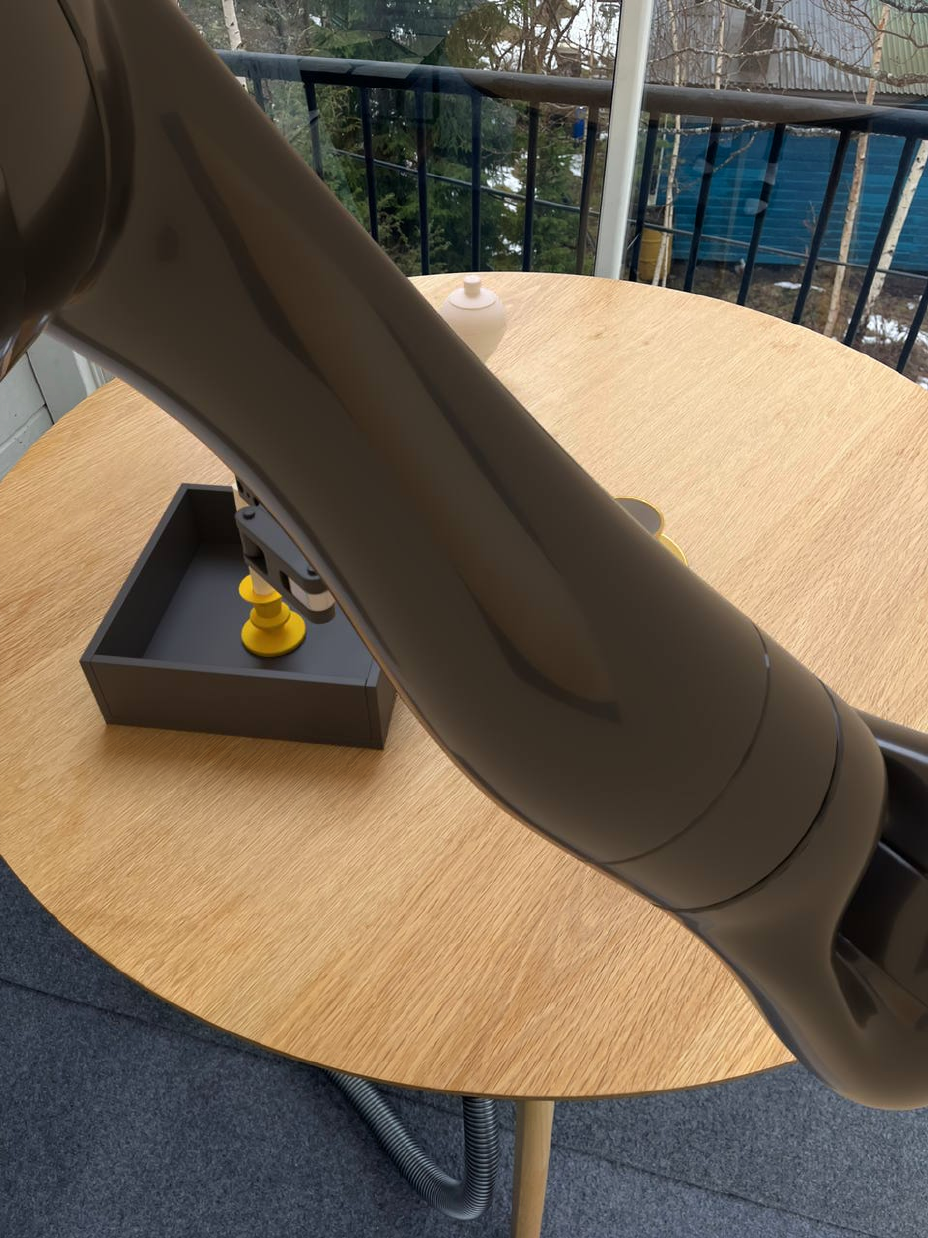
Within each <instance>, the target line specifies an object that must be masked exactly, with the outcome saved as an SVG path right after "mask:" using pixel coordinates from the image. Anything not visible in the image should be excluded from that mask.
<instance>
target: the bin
mask: <svg viewBox="0 0 928 1238" xmlns="http://www.w3.org/2000/svg"><path fill="white" fill-rule="evenodd" d="M236 512H237V509H236V505H235V499H234V492H233V488H232V485H218V484H204V483H189V482H181V483H180V485H179V487H178V489H177V490H176V492H175V494H174V496H173V497H172V499H171V500H170V502H169V503H168V506H167V507H166V509H165V511H164V512H163V514H162V515H161V518H160V520H159V521H158V523H157V524H156V527H155V529H154V530H153V532H152V533H151V535H150V537H149V539H148V540H147V542H146V544H145V545H144V547H143V549H142V551H141V553H140V554H139V556H138V558H137V559H136V561H135V563H134V564H133V567H132V568H131V570H130V572H129V573H128V575H127V576H126V579H125V580H124V582H123V584H122V586H121V587H120V589H119V591H117V594H116V595H115V597H114V599H113V601H112V602H111V605H110V606H109V608H108V610H107V611H106V613H105V615H104V617H103V619H102V620H101V622H100V624H99V625H98V627H97V629H96V630H95V632H94V634H93V636H92V638H91V639H90V641H89V643H88V644H87V646H86V648H85V650H84V651H83V653H82V655H81V656H80V658H79V660H78V663H79V665H80V667H81V669H82V672H83V674H84V676H85V678H86V681H87V684H88V685H89V688H90V691H91V693H92V695H93V697H94V699H95V702H96V704H97V706H98V709H99V711H100V714H101V715H102V718H103V720H104V722H105V724H108V725H118V726H127V727H129V726H130V727H139V728H149V729H159V730H168V731H169V730H171V731H179V732H180V731H181V732H189V733H190V732H191V733H201V734H202V733H203V734H213V735H223V736H233V737H243V738H254V739H264V740H265V739H266V740H276V741H287V742H296V743H307V744H315V745H328V746H338V747H350V748H357V749H358V748H360V749H370V750H380V751H381V750H382V751H383V750H384V749H385V745H386V741H387V737H388V733H389V729H390V724H391V720H392V716H393V711H394V707H395V704H396V698H397V695H398V693H397V692H396V690H395V689H394V687H393V686H392V684H391V683H390V681H389V680H388V679H387V677H386V676H385V674H384V673H383V671H382V670H381V668H380V667H379V665H378V664H377V663H376V661H375V660H374V658H373V657H372V655H371V654H370V652H369V651H368V649H367V648H366V646H365V645H364V643H363V642H362V640H361V639H360V637H359V636H358V634H357V633H356V631H355V630H354V628H353V627H352V625H351V624H350V622H349V621H348V619H347V618H346V616H345V615H344V613H343V612H342V610H341V609H340V607H339V606H338V604H337V602H336V601H335V602H334V604H335V610H336V615H335V617H334V618H333V619H332V620H331V621H330V622H328V623H325V624H314V623H312V622H310V621H309V620H308V619H307V618H305V617H304V616H303V615H302V614H301V613H300V612H299V611H298V610H297V609H296V608H294V607H293V606H292V605H291V604H290V603H289V602H288V601H287V600H286V599H285V598H284V597H281V600H282V602H284V603H285V604H286V605H287V606H288V607H289V610H290V611H293V612H295V613H297V614H298V615H299V616H301V617H302V619H303V620H304V622H305V627H306V635H305V638H304V640H303V642H302V643H301V644H300V645H299V646H298V647H297V648H296V649H294V650H293V651H291V652H289V653H287V654H284V655H281V656H276V657H264V656H258V655H256V654H253V653H251V652H250V651H249V650H248V649H246V647H245V646H244V644H243V641H242V636H241V633H242V628H243V627H244V625H245V623H246V622H247V621H248V620H249V619H250V612H251V610H252V609H253V608H254V606H253V603H250V602H248V601H246V600H244V599H243V598H242V597H241V595H240V593H239V586H240V583H241V582H242V580H243V579H244V578H245V577H247V576H248V575H250V570H249V566H248V565H247V564H246V562H245V559H244V554H243V545H242V541H241V537H240V532H239V528H238V527H237V524H236V519H235V514H236Z"/></svg>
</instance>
